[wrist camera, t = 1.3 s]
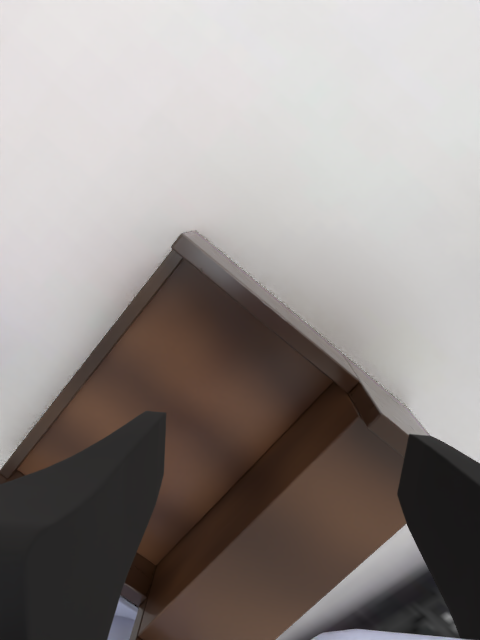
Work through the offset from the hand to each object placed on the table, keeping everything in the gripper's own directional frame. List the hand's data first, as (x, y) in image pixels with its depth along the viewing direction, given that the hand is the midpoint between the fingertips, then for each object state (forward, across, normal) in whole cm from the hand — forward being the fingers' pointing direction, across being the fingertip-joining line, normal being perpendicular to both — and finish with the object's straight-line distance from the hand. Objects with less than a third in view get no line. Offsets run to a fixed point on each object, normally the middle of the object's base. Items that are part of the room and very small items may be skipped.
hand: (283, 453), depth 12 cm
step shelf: (+10, +3, +5) cm, 12 cm away
